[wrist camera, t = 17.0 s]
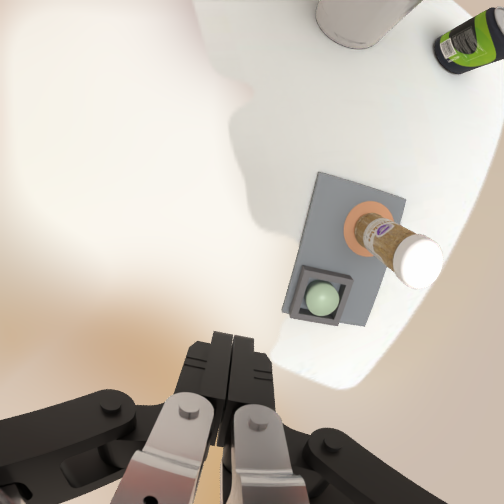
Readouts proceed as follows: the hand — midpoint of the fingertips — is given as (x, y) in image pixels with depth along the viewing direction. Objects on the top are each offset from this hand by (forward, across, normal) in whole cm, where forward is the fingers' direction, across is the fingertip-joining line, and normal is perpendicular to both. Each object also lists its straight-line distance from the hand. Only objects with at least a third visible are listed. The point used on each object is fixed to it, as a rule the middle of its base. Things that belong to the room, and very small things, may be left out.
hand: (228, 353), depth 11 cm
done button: (+25, -11, +6) cm, 28 cm away
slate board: (+26, -13, +1) cm, 29 cm away
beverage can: (+27, -24, -32) cm, 48 cm away
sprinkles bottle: (+25, -15, -3) cm, 30 cm away
